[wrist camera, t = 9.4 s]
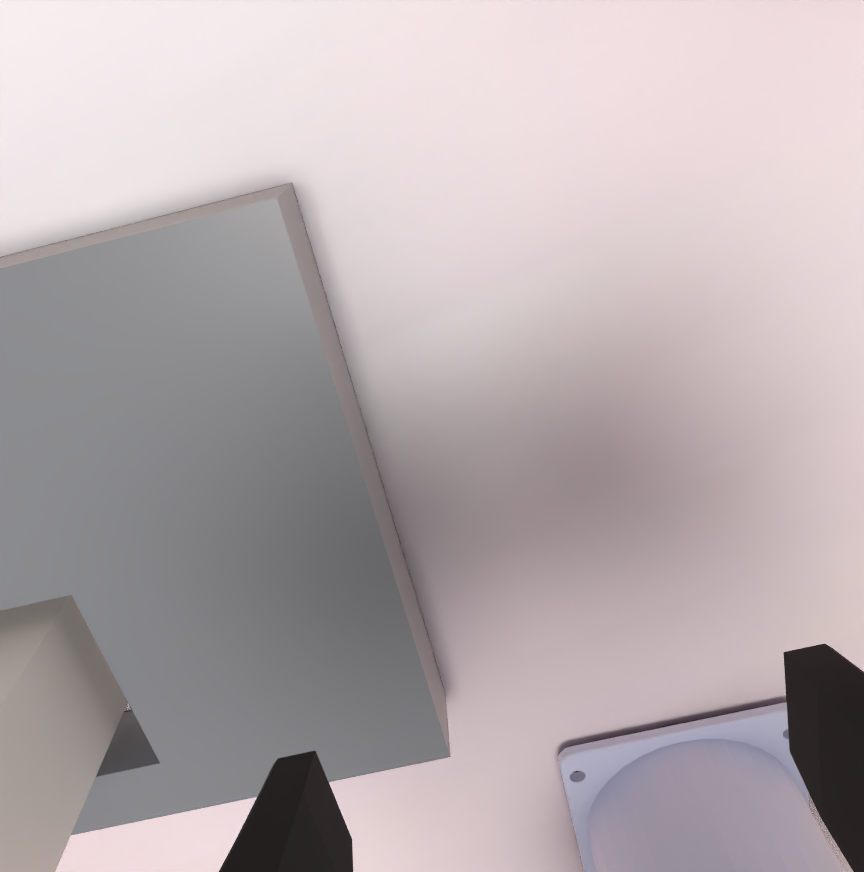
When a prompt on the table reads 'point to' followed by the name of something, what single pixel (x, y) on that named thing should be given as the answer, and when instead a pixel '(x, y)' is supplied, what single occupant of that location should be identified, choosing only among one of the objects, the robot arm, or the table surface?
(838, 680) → the robot arm
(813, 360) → the table surface
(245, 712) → the outlet plate
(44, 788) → the beige rectangular block
